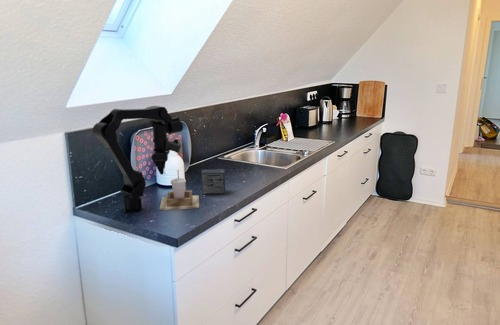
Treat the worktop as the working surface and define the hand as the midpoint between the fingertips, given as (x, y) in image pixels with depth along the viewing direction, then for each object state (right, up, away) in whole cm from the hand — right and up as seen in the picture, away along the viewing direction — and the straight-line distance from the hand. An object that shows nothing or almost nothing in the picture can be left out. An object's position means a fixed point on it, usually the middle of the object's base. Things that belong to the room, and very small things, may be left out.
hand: (162, 171), depth 177 cm
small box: (+21, -10, +12) cm, 26 cm away
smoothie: (+8, -13, -2) cm, 16 cm away
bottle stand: (+8, -14, -2) cm, 16 cm away
